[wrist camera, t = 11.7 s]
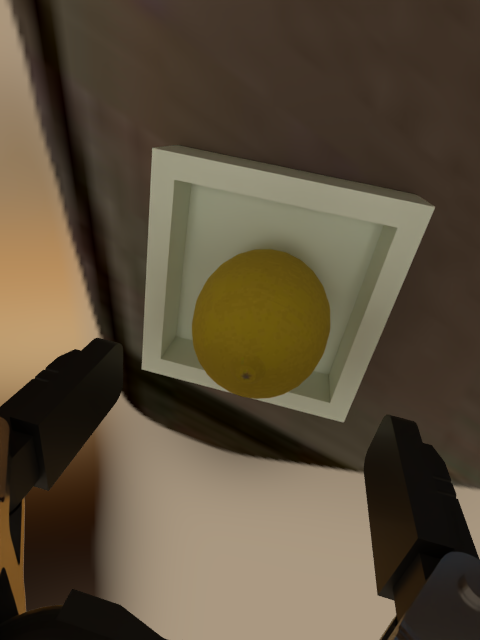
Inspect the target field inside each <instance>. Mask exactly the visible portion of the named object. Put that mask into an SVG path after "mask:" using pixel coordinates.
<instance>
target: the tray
mask: <svg viewBox="0 0 480 640" xmlns="http://www.w3.org/2000/svg"><path fill="white" fill-rule="evenodd" d="M434 209H435V207H434V206H433V205H431V204H430V203H428V202H427V201H425V200H424V199H422V198H421V197H419V196H418V195H417V194H412V193H407V192H402V191H398V190H393V189H388V188H383V187H378V186H373V185H369V184H364V183H359V182H354V181H349V180H344V179H340V178H335V177H330V176H325V175H320V174H316V173H311V172H306V171H301V170H296V169H291V168H287V167H282V166H277V165H272V164H267V163H262V162H258V161H253V160H248V159H243V158H238V157H233V156H229V155H224V154H219V153H214V152H209V151H205V150H200V149H195V148H190V147H185V146H180V145H173V146H165V147H156V148H152V165H151V186H150V207H149V228H148V249H147V269H146V290H145V311H144V332H143V353H142V369H143V370H146V371H150V372H154V373H158V374H162V375H165V376H169V377H173V378H177V379H181V380H184V381H188V382H192V383H196V384H199V385H203V386H207V387H211V388H215V389H218V390H222V391H226V392H229V391H227V390H226V389H224V388H222V387H221V386H219V385H218V384H217V383H215V382H214V381H213V380H212V379H211V378H210V377H209V376H208V375H207V373H206V372H205V370H204V369H203V367H202V366H201V364H200V363H199V361H198V358H197V355H196V352H195V350H194V346H193V337H192V320H193V315H194V310H195V305H196V301H197V298H198V296H199V294H200V292H201V290H202V288H203V286H204V285H205V283H206V281H207V279H208V278H209V277H210V276H211V275H212V274H213V273H214V272H215V271H216V270H217V269H218V267H219V266H220V265H222V264H223V263H224V262H226V261H228V260H229V259H231V258H233V257H234V256H236V255H238V254H240V253H244V252H248V251H251V250H255V249H273V250H277V251H282V252H286V253H288V254H290V255H292V256H294V257H296V258H298V259H300V260H301V261H303V262H304V263H305V264H306V265H307V266H308V267H309V268H310V269H312V270H313V271H314V273H315V274H316V276H317V277H318V279H319V280H320V282H321V283H322V285H323V287H324V290H325V293H326V296H327V299H328V302H329V305H330V333H329V337H328V341H327V344H326V348H325V351H324V354H323V356H322V358H321V359H320V361H319V363H318V364H317V366H316V368H315V369H314V371H313V372H312V374H311V375H310V376H309V377H308V378H307V379H306V380H305V381H304V382H302V383H301V384H300V385H299V386H298V387H296V388H294V389H292V390H290V391H289V392H287V393H285V394H283V395H279V396H276V397H272V398H260V399H256V400H260V401H264V402H268V403H271V404H275V405H279V406H283V407H286V408H290V409H294V410H298V411H302V412H305V413H309V414H313V415H317V416H321V417H324V418H328V419H332V420H336V421H339V422H343V423H344V421H345V418H346V416H347V414H348V411H349V409H350V407H351V404H352V402H353V400H354V397H355V395H356V392H357V390H358V388H359V385H360V383H361V381H362V378H363V376H364V374H365V371H366V369H367V367H368V364H369V362H370V360H371V357H372V355H373V352H374V350H375V348H376V345H377V343H378V341H379V338H380V336H381V334H382V331H383V329H384V327H385V324H386V322H387V319H388V317H389V315H390V312H391V310H392V308H393V305H394V303H395V301H396V298H397V296H398V294H399V291H400V289H401V286H402V284H403V282H404V279H405V277H406V275H407V272H408V270H409V268H410V265H411V263H412V261H413V258H414V256H415V254H416V251H417V249H418V246H419V244H420V242H421V239H422V237H423V235H424V232H425V230H426V228H427V225H428V223H429V221H430V218H431V216H432V213H433V211H434ZM230 393H231V392H230ZM233 394H234V393H233ZM252 399H254V398H252Z"/></svg>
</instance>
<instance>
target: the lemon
mask: <svg viewBox="0 0 480 640" xmlns="http://www.w3.org/2000/svg"><path fill="white" fill-rule="evenodd" d="M329 333H330V305H329V302H328V299H327V296H326V293H325V290H324V287H323V285H322V283H321V282H320V280H319V279H318V277H317V276H316V274H315V273H314V271H313V270H312V269H310V268H309V267H308V266H307V265H306V264H305V263H304V262H303V261H301V260H300V259H298V258H296V257H294V256H292V255H290V254H288V253H286V252H282V251H277V250H273V249H255V250H251V251H248V252H244V253H240V254H238V255H236V256H234V257H233V258H231V259H229V260H228V261H226V262H224V263H223V264H222V265H220V266H219V267H218V269H217V270H216V271H215V272H214V273H213V274H212V275H211V276H210V277H209V278H208V279H207V281H206V283H205V285H204V286H203V288H202V290H201V292H200V294H199V296H198V298H197V301H196V305H195V310H194V315H193V320H192V337H193V346H194V350H195V352H196V355H197V358H198V361H199V363H200V364H201V366H202V367H203V369H204V370H205V372H206V373H207V375H208V376H209V377H210V378H211V379H212V380H213V381H214V382H215V383H217V384H218V385H219V386H221V387H222V388H224V389H226V390H227V391H229V392H231V393H234V394H237V395H239V396H242V397H248V398H254V399H260V398H272V397H276V396H279V395H283V394H285V393H287V392H289V391H290V390H292V389H294V388H296V387H298V386H299V385H300V384H301V383H302V382H304V381H305V380H306V379H307V378H308V377H309V376H310V375H311V374H312V372H313V371H314V369H315V368H316V366H317V364H318V363H319V361H320V359H321V358H322V356H323V354H324V351H325V348H326V344H327V341H328V337H329Z"/></svg>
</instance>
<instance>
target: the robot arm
mask: <svg viewBox="0 0 480 640" xmlns="http://www.w3.org/2000/svg"><path fill="white" fill-rule="evenodd" d="M122 386H123V347H122V345H121V344H119V343H116V342H112V341H108V340H104V339H100V338H96V339H94V340H92V341H91V342H90V343H89V344H88V345H87V346H86V347H85V348H84V349H83V350H82V351H80V350H76V349H75V350H73V351H70V352H68V353H66V354H64V355H61V356H59V357H58V358H56V359H55V360H54V361H53V362H52V363H51V364H49V365H48V366H47V367H46V369H45V370H43V371H41V372H40V373H39V374H38V375H37V376H36V377H35V379H32V380H31V381H30V382H29V383H27V384H26V385H25V386H24V387H23V388H22V389H20V390H19V391H18V392H17V393H16V394H15V395H13V396H12V397H11V398H10V399H9V400H8V401H6V402H5V403H4V404H3V405H2V406H1V407H0V640H167V639H164V638H163V637H161V636H160V635H159V634H157V633H156V632H154V631H153V630H152V629H151V628H149V627H148V626H147V625H146V624H144V623H143V622H142V621H140V620H139V619H138V618H136V617H135V616H134V615H133V614H131V613H130V612H129V611H127V610H126V609H125V608H124V607H122V606H121V605H119V604H116V603H112V602H110V601H107V600H104V599H101V598H98V597H95V596H92V595H89V594H86V593H83V592H80V591H77V590H74V589H72V590H71V592H70V594H69V596H68V598H67V600H66V601H65V603H64V605H52V606H46V607H41V608H38V609H34V610H30V611H27V612H26V600H25V589H24V574H23V566H24V564H23V563H24V520H25V519H24V518H25V499H24V497H25V496H26V495H27V493H28V492H29V491H30V490H31V488H32V487H33V486H35V487H38V488H42V489H44V490H48V491H49V490H50V488H51V487H52V486H53V484H54V483H55V482H56V481H57V479H58V478H59V477H60V475H61V474H62V473H63V471H64V470H65V469H66V467H67V466H68V465H69V463H70V462H71V461H72V460H73V458H74V457H75V456H76V454H77V453H78V452H79V450H80V449H81V448H82V446H83V445H84V444H85V442H86V441H87V440H88V438H89V437H90V436H91V435H92V433H93V432H94V431H95V429H96V428H97V427H98V425H99V424H100V423H101V421H102V420H103V419H104V417H105V416H106V415H107V413H108V412H109V411H110V410H111V408H112V407H113V406H114V404H115V403H116V402H117V400H118V398H119V396H120V393H121V390H122ZM364 477H365V486H366V494H367V504H368V512H369V522H370V530H371V539H372V548H373V557H374V566H375V574H376V575H375V576H376V584H377V593H378V595H379V596H382V597H385V598H388V599H392V600H394V601H395V607H396V614H397V615H396V617H395V618H394V619H393V620H392V621H391V623H390V625H389V626H388V628H387V629H386V631H385V632H384V634H383V635H382V637H381V638H380V640H480V559H479V557H478V554H477V552H476V549H475V546H474V543H473V540H472V538H471V535H470V532H469V529H468V526H467V523H466V521H465V518H464V515H463V512H462V509H461V506H460V504H459V501H458V499H456V492H455V490H454V487H453V484H452V483H451V478H450V476H449V473H448V470H447V467H446V464H445V462H444V461H443V459H442V458H441V457H440V455H439V454H438V453H437V452H436V450H435V449H434V448H433V446H432V445H429V444H425V443H423V442H422V439H421V436H420V433H419V429H418V426H417V424H416V423H415V422H414V421H410V420H407V419H403V418H399V417H395V416H391V415H386V416H385V417H384V418H383V420H382V422H381V424H380V426H379V428H378V430H377V432H376V434H375V436H374V438H373V440H372V442H371V444H370V447H369V449H368V451H367V454H366V457H365V463H364Z"/></svg>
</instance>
